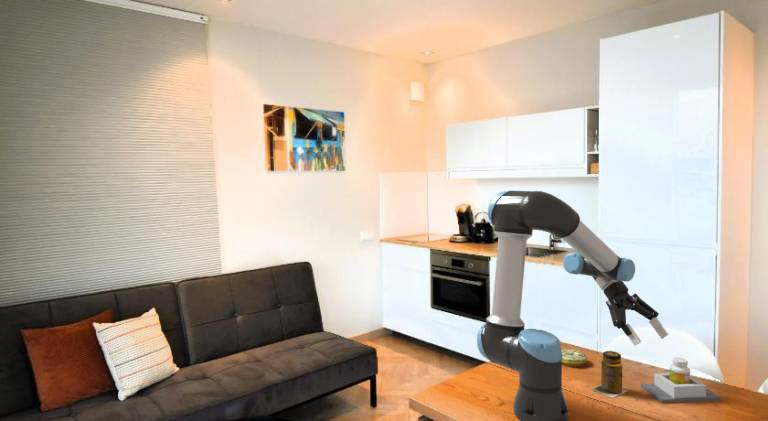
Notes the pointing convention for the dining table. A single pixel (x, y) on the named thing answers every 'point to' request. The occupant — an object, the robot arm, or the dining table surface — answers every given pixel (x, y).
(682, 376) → the supplement bottle
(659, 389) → the socket plate
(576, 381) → the dining table surface
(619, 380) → the condiment
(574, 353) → the decorated donut
